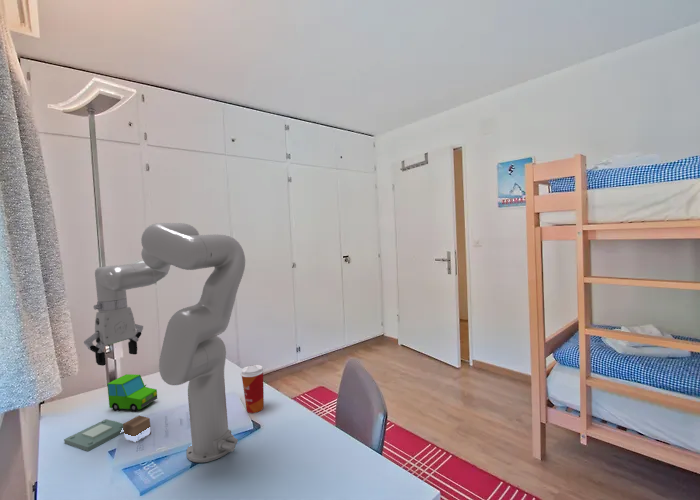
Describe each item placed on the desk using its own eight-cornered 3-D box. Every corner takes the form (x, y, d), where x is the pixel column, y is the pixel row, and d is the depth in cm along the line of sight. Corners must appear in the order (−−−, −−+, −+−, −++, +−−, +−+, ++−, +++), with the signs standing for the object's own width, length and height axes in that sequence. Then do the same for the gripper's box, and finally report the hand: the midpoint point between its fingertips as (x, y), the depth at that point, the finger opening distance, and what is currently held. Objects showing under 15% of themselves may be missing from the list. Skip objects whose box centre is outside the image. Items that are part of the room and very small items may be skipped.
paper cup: (243, 406, 121) (240, 366, 120) (265, 401, 123) (262, 362, 122) (243, 417, 113) (240, 374, 113) (267, 411, 116) (264, 370, 115)
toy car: (139, 414, 120) (136, 385, 119) (107, 412, 122) (104, 384, 122) (161, 400, 130) (158, 373, 129) (130, 399, 132) (128, 373, 132)
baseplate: (129, 428, 110) (129, 423, 110) (88, 451, 99) (87, 445, 99) (106, 422, 115) (105, 417, 115) (64, 443, 104) (63, 437, 104)
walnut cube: (151, 433, 107) (149, 418, 107) (135, 443, 102) (133, 426, 102) (140, 431, 109) (139, 415, 109) (124, 440, 104) (122, 423, 104)
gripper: (89, 312, 99) (95, 371, 100) (147, 300, 115) (151, 351, 116) (74, 311, 102) (80, 368, 103) (132, 299, 118) (137, 349, 119)
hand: (118, 359), depth 109 cm, fingers open, 9 cm apart
